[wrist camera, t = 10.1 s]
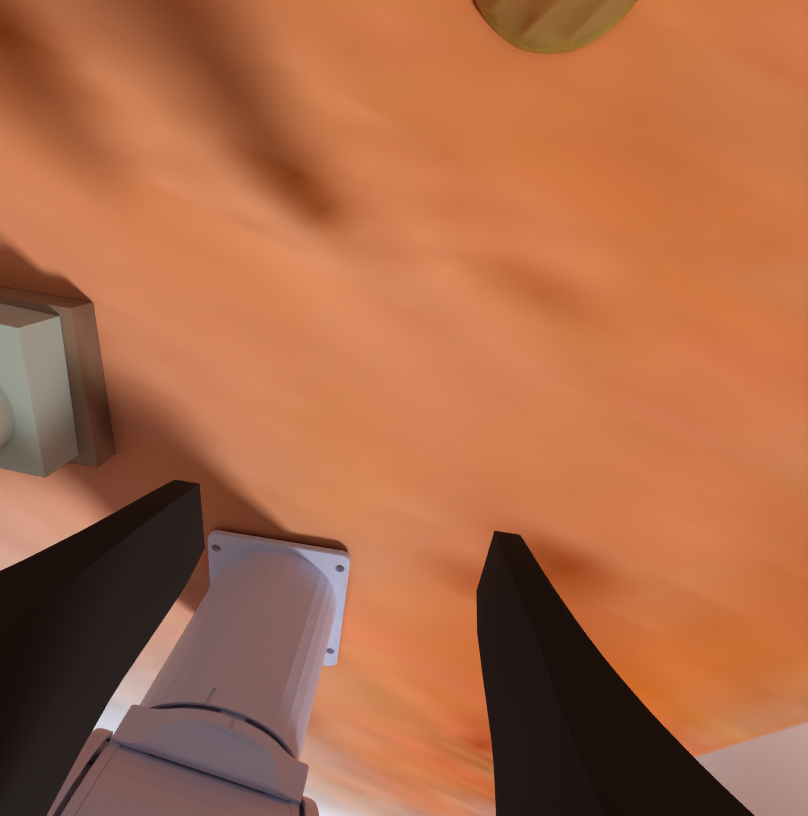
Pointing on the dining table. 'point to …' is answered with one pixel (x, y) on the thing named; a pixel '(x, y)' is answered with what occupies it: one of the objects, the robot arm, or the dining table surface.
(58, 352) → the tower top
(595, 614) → the dining table surface
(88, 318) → the tower base
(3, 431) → the white rounded dome
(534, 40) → the vase
